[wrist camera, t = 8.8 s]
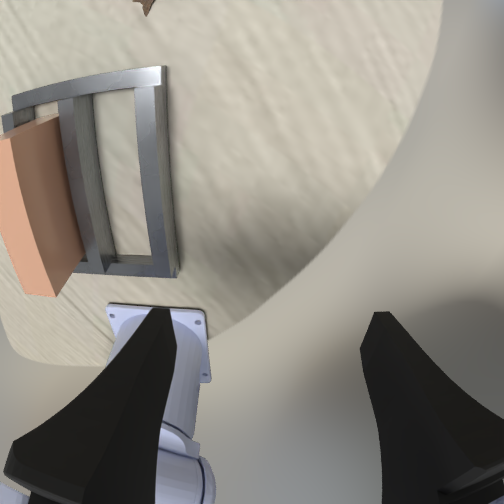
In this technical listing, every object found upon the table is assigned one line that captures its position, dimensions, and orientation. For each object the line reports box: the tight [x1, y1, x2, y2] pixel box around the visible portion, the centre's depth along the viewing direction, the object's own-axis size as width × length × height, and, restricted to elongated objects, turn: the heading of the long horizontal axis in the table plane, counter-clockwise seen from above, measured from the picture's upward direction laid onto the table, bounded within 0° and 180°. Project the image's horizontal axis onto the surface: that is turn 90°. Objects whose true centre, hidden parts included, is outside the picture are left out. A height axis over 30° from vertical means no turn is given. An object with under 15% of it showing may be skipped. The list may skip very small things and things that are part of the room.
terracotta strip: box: [0, 113, 86, 297], centre depth 15 cm, size 9×2×6 cm, turn 178°
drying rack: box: [2, 66, 180, 278], centre depth 17 cm, size 13×10×2 cm
